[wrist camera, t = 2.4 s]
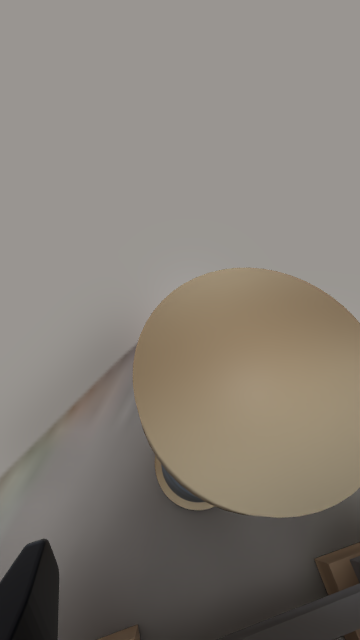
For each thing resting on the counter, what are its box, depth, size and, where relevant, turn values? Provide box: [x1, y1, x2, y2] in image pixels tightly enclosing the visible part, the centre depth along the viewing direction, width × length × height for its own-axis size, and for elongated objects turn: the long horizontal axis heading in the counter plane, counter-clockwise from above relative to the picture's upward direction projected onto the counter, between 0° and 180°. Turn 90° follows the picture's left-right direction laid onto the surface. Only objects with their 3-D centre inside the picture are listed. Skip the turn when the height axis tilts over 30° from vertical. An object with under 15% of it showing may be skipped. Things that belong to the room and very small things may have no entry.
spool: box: [133, 268, 360, 518], centre depth 11 cm, size 4×4×13 cm
